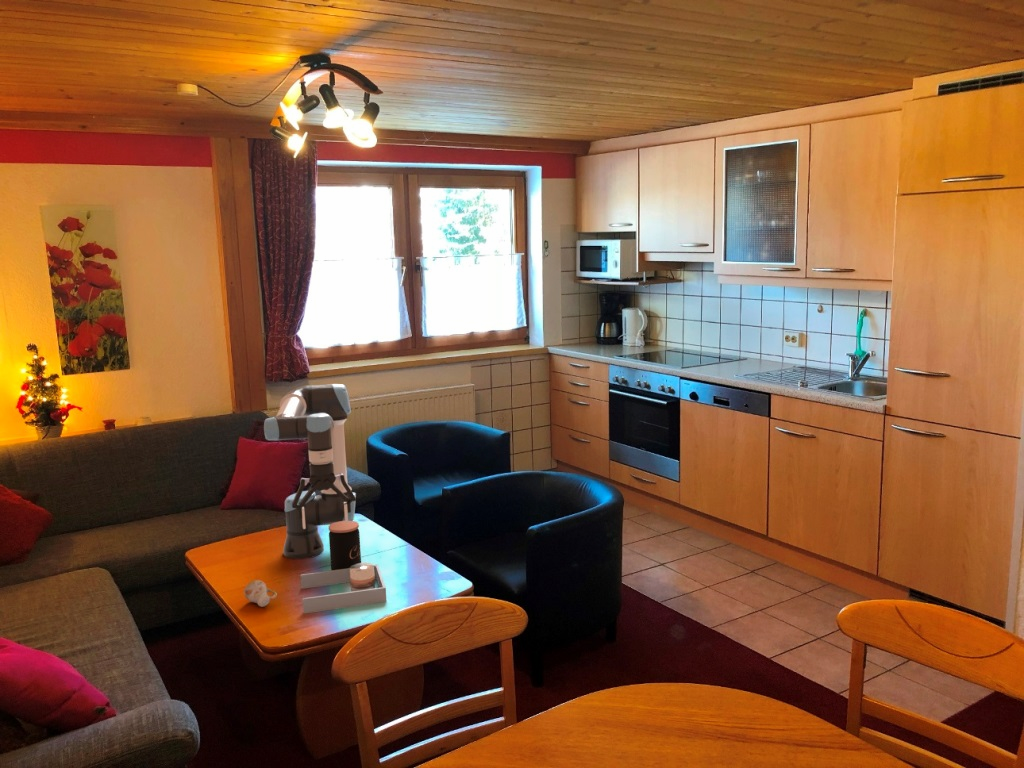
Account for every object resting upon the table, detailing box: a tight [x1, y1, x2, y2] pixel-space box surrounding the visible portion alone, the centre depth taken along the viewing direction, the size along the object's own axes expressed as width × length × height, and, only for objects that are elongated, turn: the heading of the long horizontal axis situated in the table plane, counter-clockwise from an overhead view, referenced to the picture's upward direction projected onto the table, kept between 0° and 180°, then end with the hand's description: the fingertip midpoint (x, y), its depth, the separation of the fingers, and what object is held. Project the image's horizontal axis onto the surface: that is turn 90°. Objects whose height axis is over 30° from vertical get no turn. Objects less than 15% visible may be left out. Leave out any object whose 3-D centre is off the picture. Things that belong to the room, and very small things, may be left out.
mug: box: [243, 579, 278, 608], centre depth 268 cm, size 8×10×10 cm
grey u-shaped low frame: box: [299, 564, 387, 615], centre depth 273 cm, size 22×26×5 cm
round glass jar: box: [349, 562, 376, 592], centre depth 275 cm, size 8×8×9 cm
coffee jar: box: [328, 520, 362, 571], centre depth 291 cm, size 11×11×18 cm
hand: (325, 525), depth 267 cm, fingers open, 13 cm apart
